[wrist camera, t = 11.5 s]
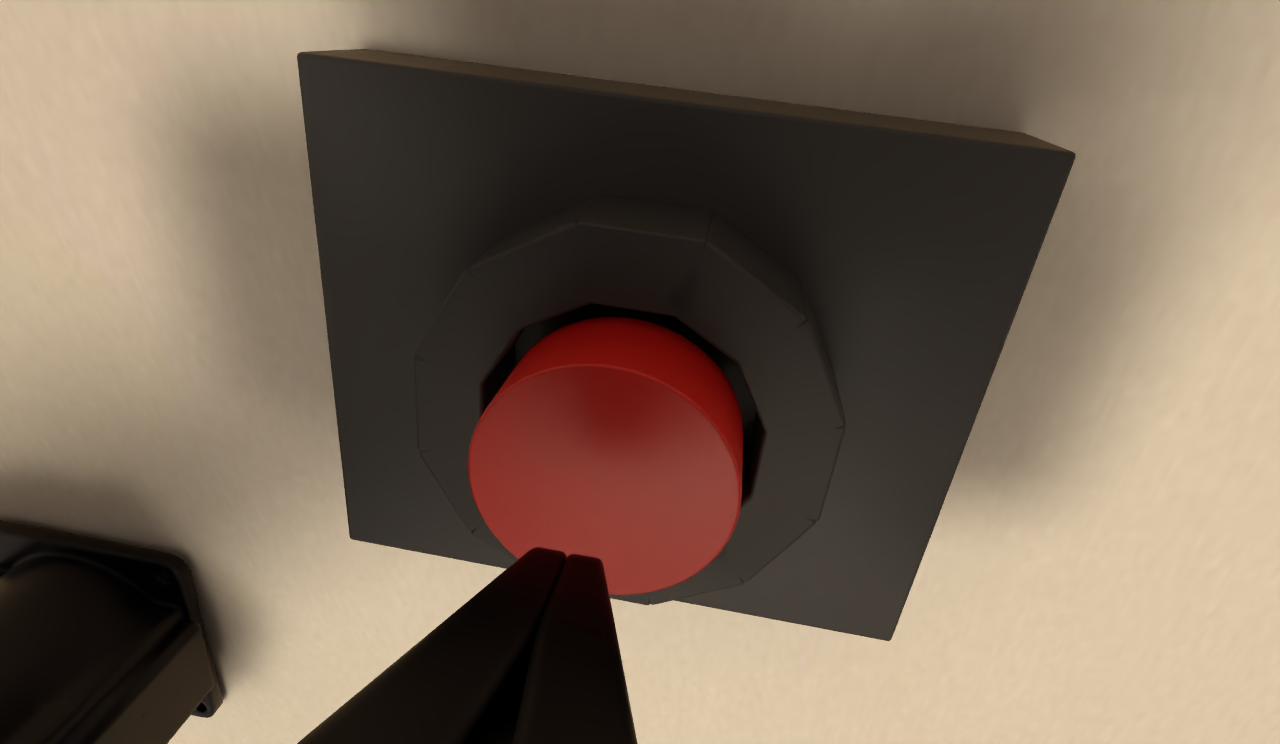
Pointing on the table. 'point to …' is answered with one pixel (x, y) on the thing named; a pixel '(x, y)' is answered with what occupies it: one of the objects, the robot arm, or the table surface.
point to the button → (613, 453)
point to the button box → (671, 298)
